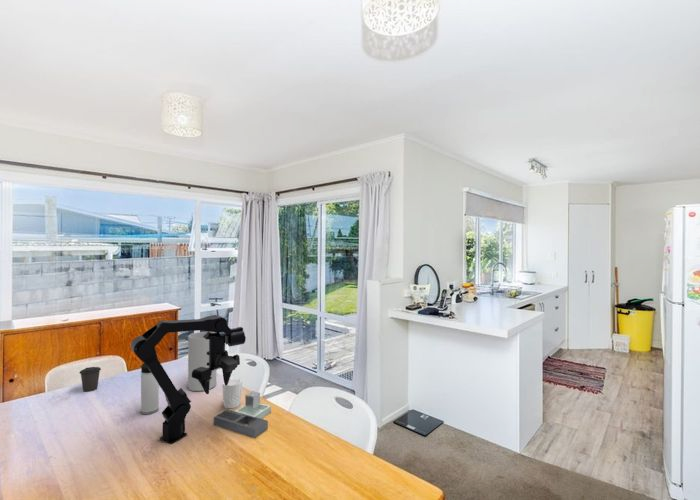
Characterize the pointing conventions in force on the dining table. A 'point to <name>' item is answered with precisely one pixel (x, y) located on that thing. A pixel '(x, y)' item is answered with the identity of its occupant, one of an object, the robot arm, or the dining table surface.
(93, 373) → the coffee cup
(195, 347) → the cylinder vase
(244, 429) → the rail
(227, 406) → the white cup
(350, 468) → the dining table surface
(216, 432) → the dining table surface
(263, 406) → the parts tray
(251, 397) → the brushed aluminium bar
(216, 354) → the robot arm
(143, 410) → the travel mug
